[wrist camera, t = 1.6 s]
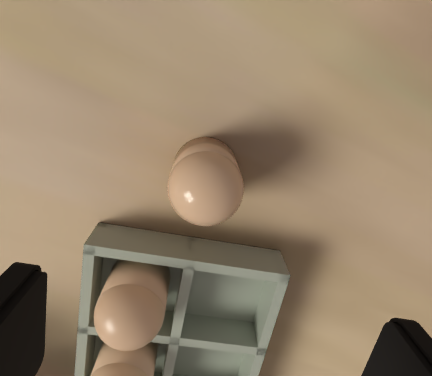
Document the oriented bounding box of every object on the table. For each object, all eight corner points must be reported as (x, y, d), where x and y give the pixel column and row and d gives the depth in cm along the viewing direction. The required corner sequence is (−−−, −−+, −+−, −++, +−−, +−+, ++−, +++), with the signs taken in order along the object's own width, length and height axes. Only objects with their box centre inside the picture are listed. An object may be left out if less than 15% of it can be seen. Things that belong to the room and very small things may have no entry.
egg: (178, 131, 22) (170, 154, 16) (243, 143, 22) (257, 170, 16) (169, 192, 23) (157, 233, 17) (229, 202, 24) (238, 246, 18)
